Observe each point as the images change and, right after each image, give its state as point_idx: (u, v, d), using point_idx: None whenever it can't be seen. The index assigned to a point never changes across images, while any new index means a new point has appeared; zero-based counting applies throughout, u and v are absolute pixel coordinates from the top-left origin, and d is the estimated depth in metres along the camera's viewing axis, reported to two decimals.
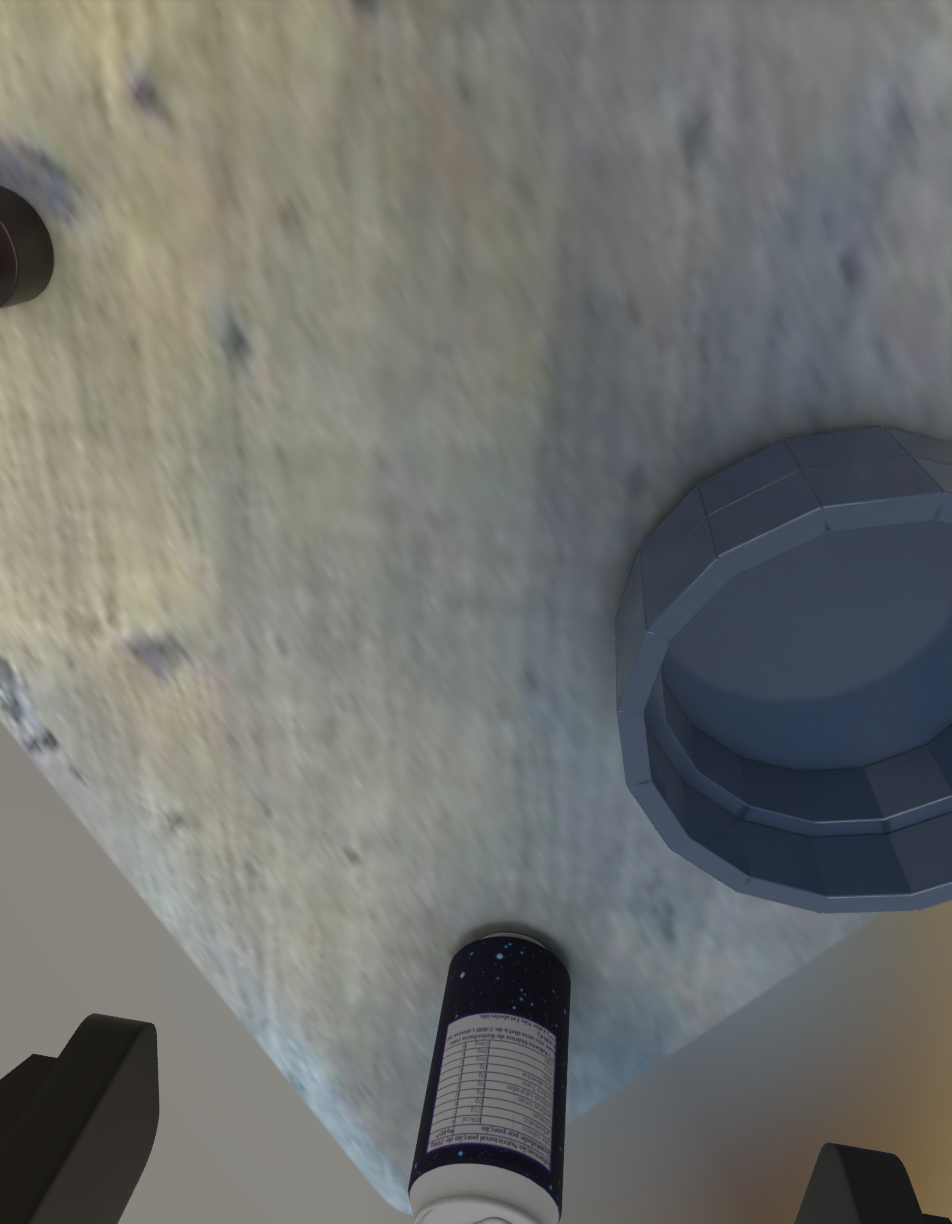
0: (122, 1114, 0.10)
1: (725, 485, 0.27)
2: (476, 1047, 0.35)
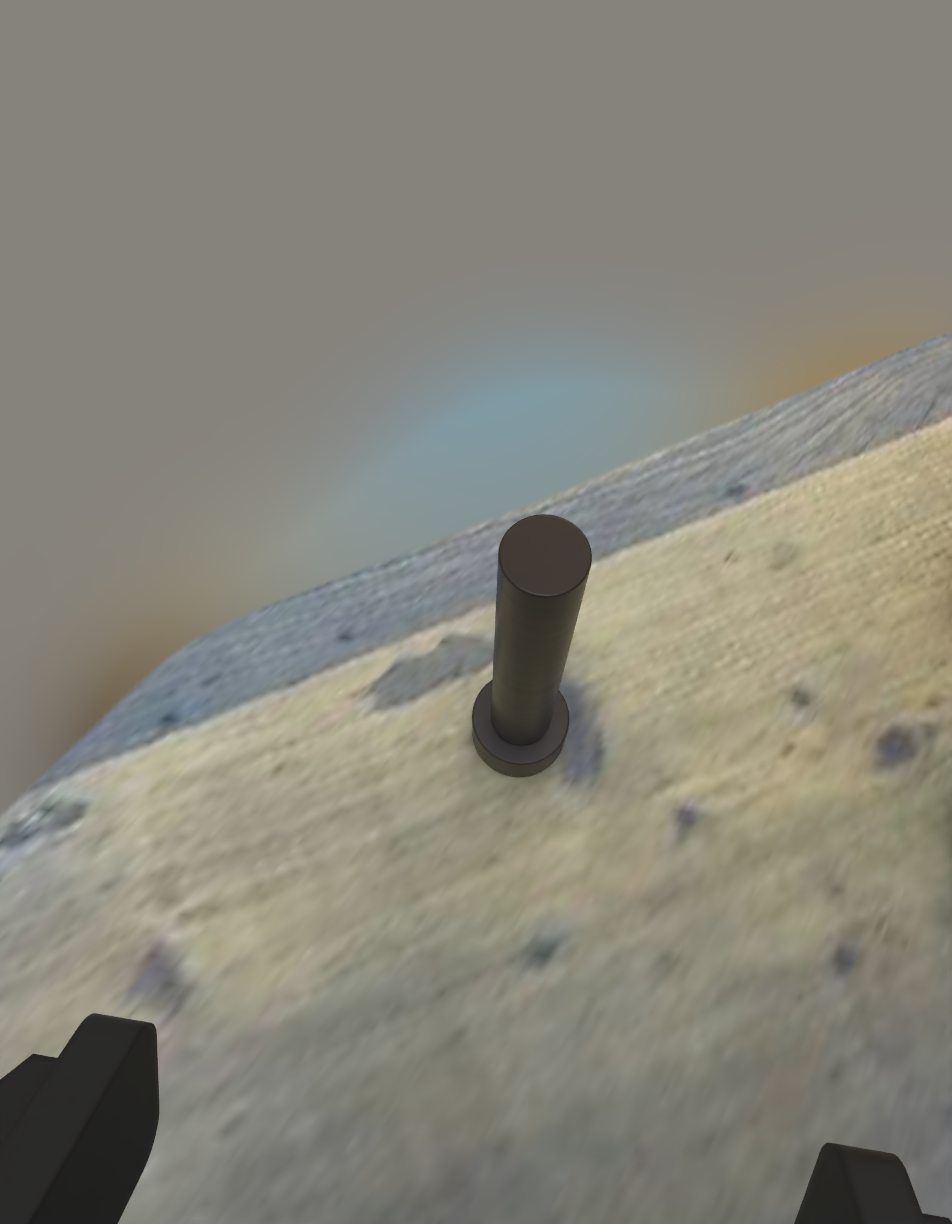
0: (123, 1114, 0.10)
1: None
2: None
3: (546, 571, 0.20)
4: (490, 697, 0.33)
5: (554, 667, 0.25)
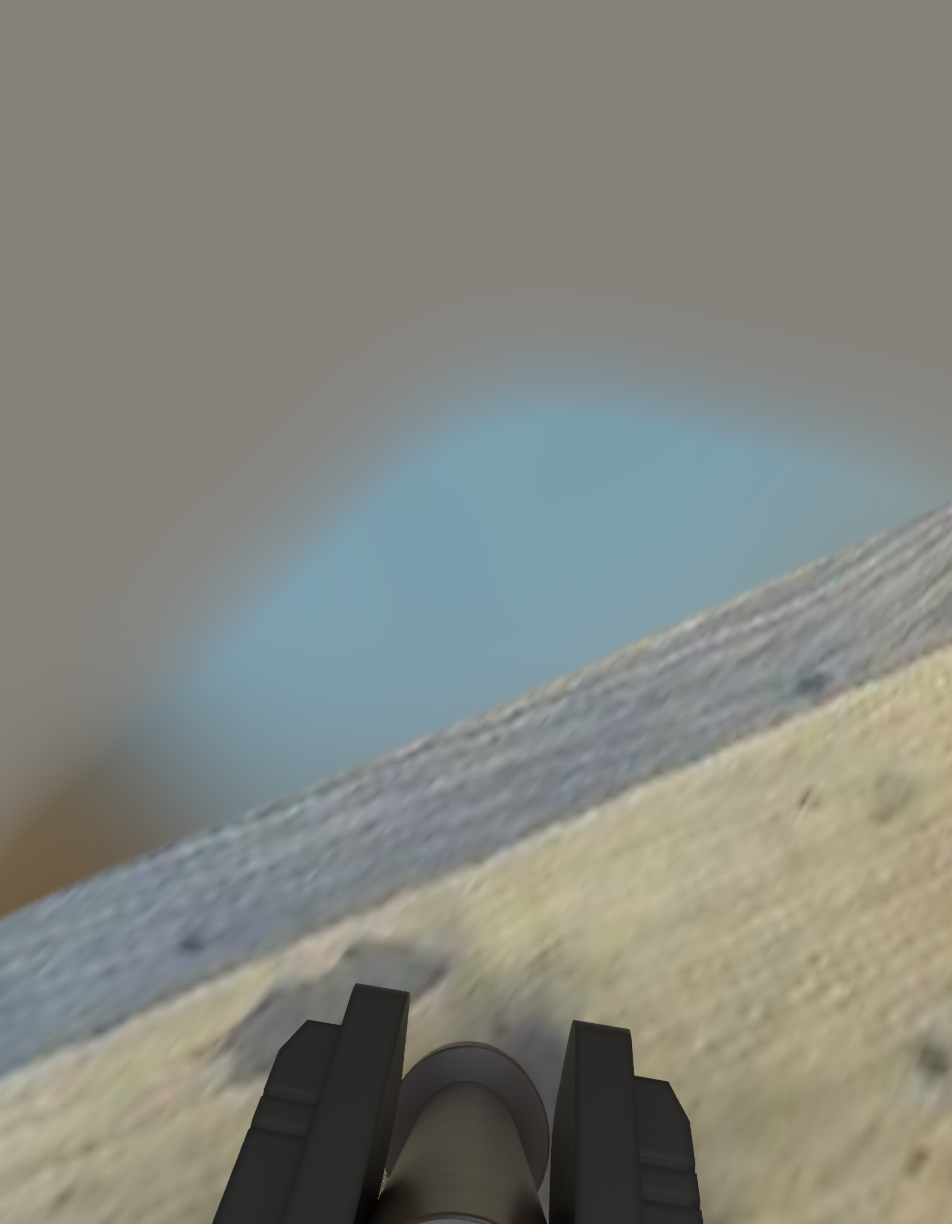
0: (395, 1074, 0.11)
1: None
2: None
3: None
4: (414, 1098, 0.19)
5: None
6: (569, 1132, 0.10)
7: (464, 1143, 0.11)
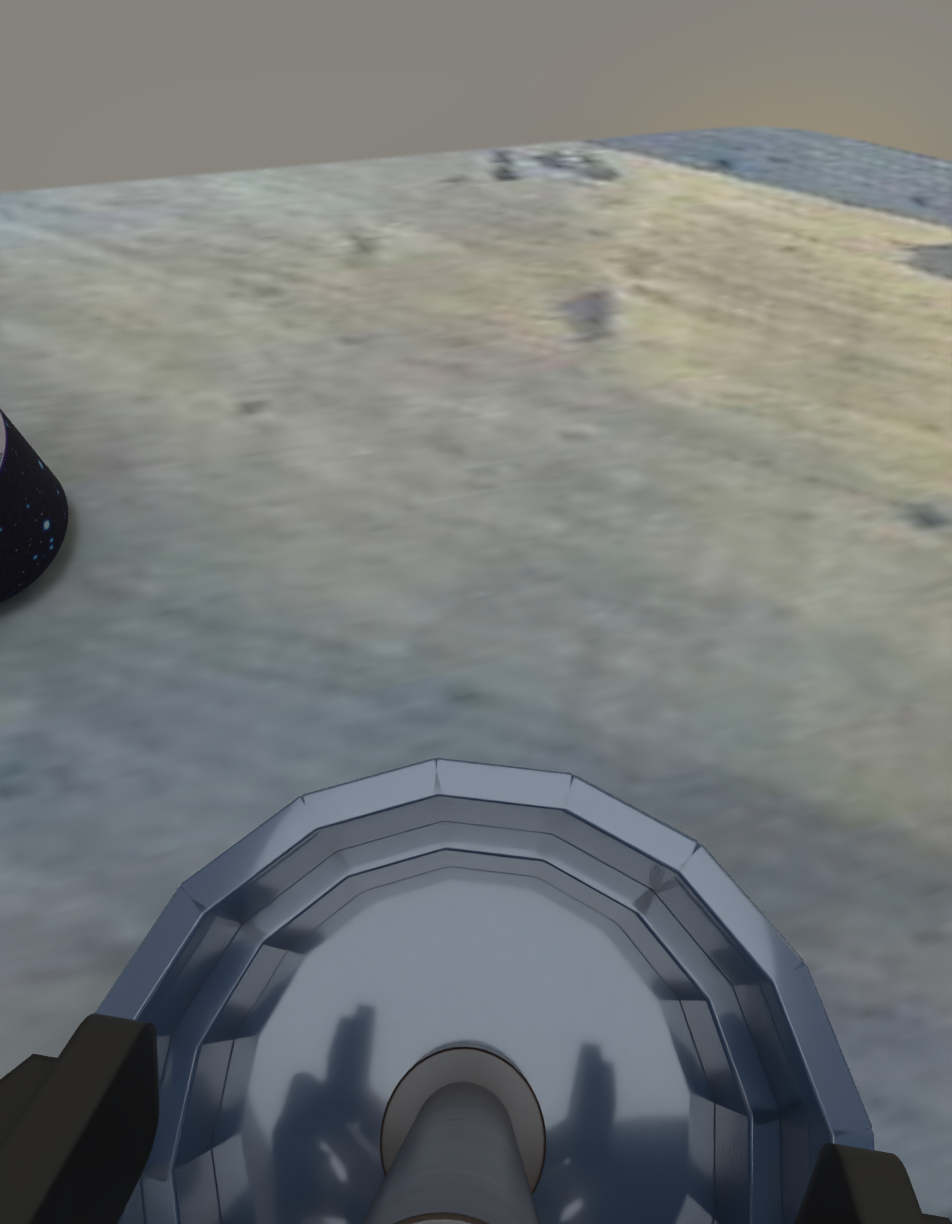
0: (123, 1114, 0.10)
1: None
2: None
3: None
4: (412, 1100, 0.19)
5: None
6: None
7: (459, 1144, 0.11)
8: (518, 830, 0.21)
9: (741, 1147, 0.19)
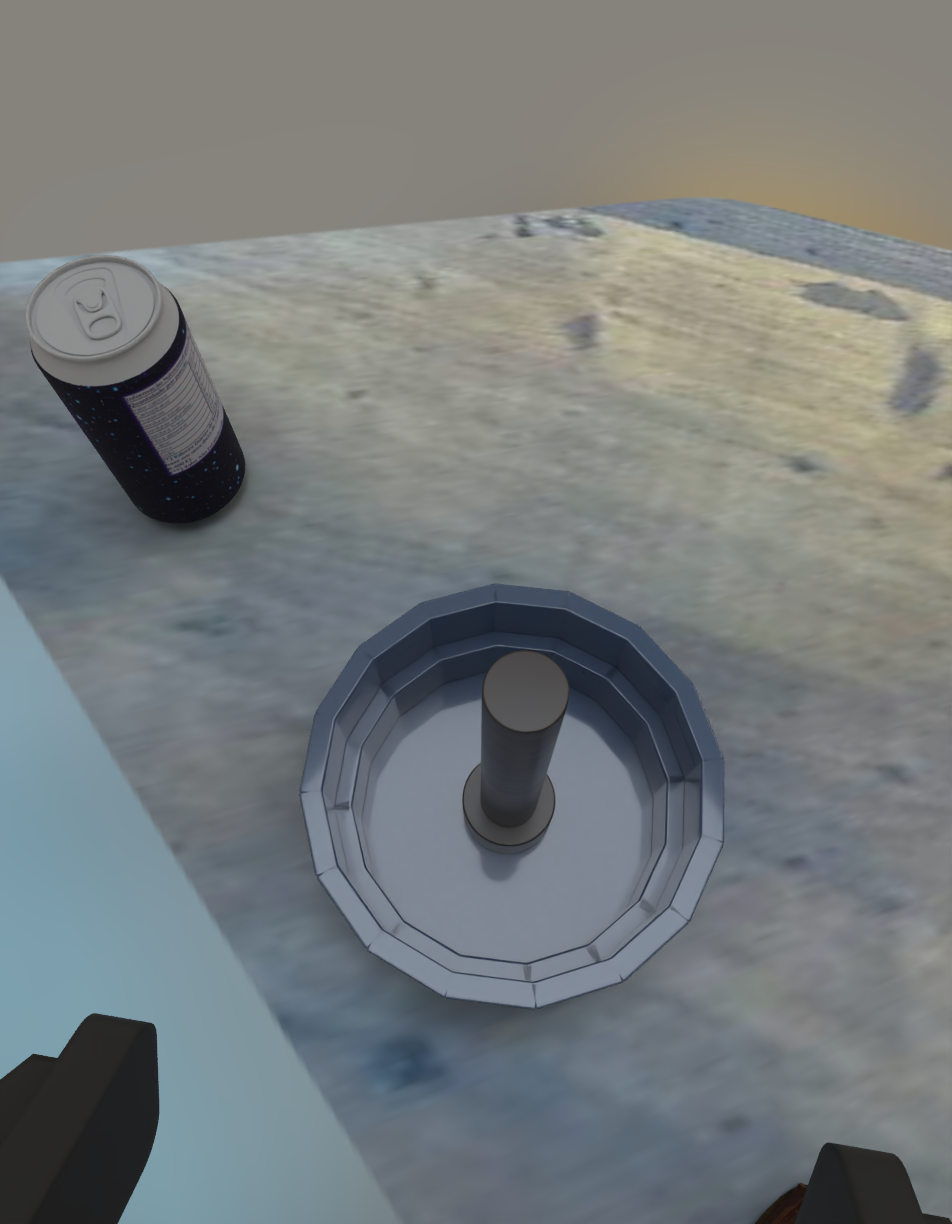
0: (122, 1114, 0.10)
1: None
2: (213, 400, 0.37)
3: (526, 707, 0.22)
4: (479, 779, 0.34)
5: (537, 775, 0.26)
6: None
7: None
8: (538, 636, 0.36)
9: (663, 799, 0.34)
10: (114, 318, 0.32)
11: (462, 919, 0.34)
